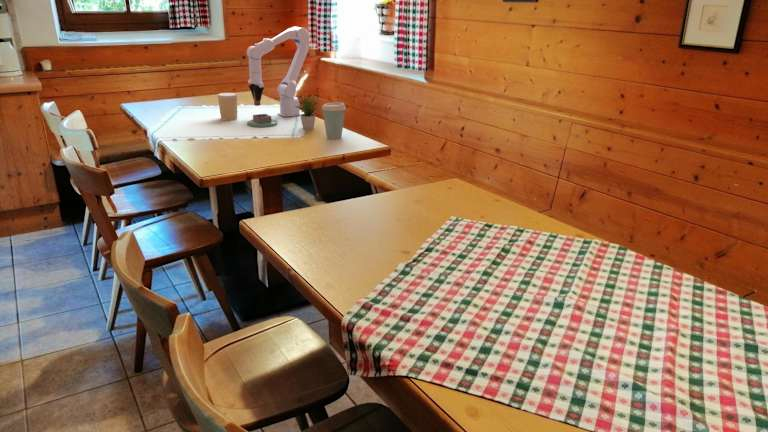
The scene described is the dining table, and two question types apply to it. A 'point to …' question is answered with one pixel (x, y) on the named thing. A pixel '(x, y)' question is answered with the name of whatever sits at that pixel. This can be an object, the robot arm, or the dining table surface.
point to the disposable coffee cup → (334, 119)
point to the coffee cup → (228, 106)
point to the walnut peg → (256, 101)
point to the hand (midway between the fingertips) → (257, 100)
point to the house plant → (308, 112)
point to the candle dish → (262, 121)
